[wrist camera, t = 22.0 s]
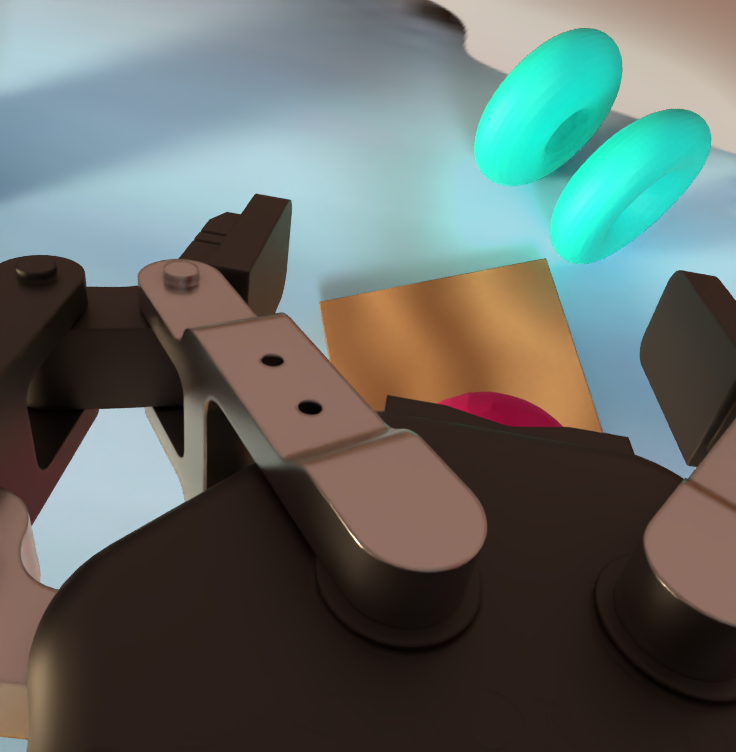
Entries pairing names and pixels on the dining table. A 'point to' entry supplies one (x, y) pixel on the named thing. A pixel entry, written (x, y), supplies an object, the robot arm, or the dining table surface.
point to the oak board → (463, 342)
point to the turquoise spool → (573, 130)
